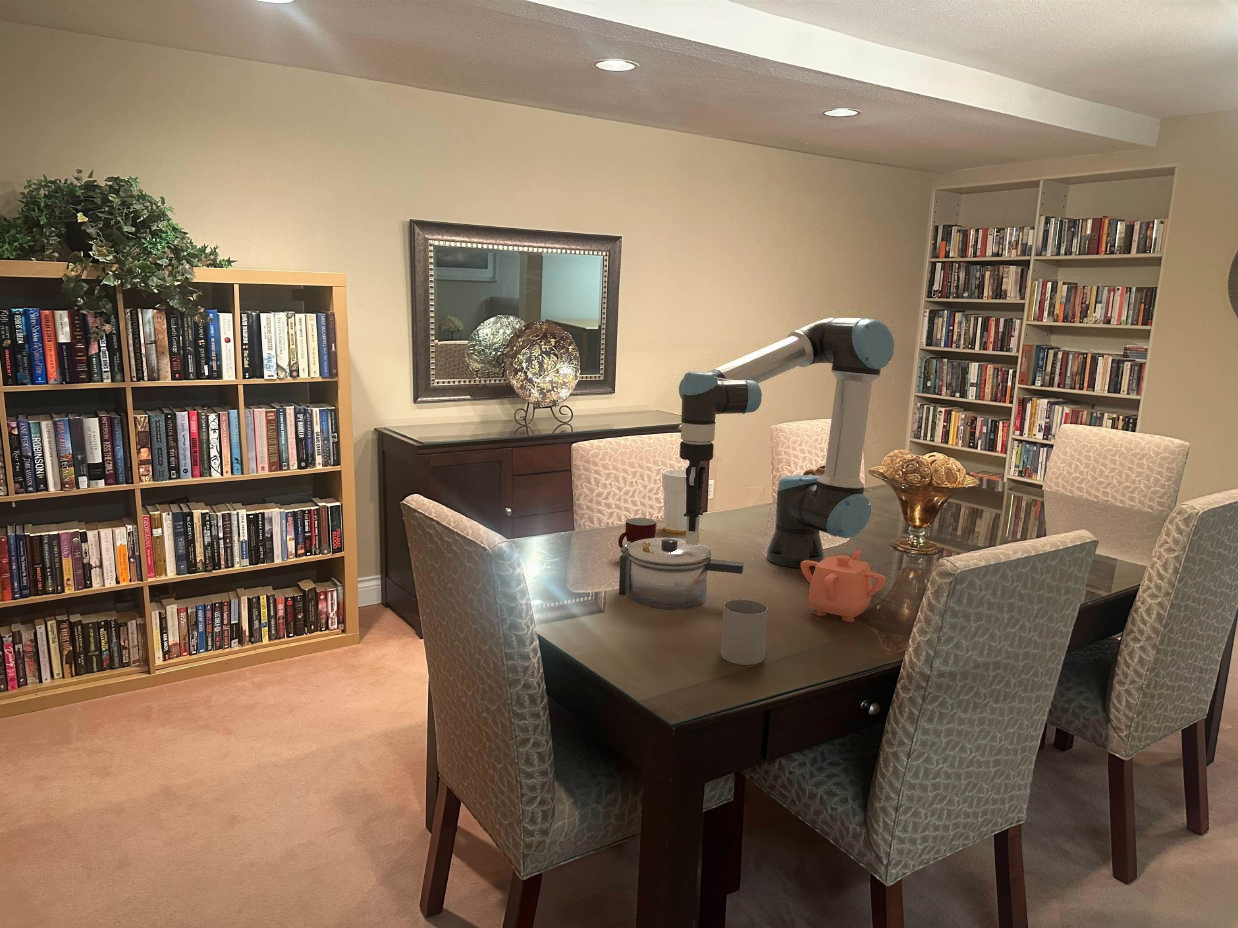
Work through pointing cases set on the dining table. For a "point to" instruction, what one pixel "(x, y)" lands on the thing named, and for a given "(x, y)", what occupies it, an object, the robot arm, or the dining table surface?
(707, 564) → the pot
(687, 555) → the lid
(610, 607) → the dining table surface
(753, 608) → the cup
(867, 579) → the teapot
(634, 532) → the mug
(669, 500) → the cup
